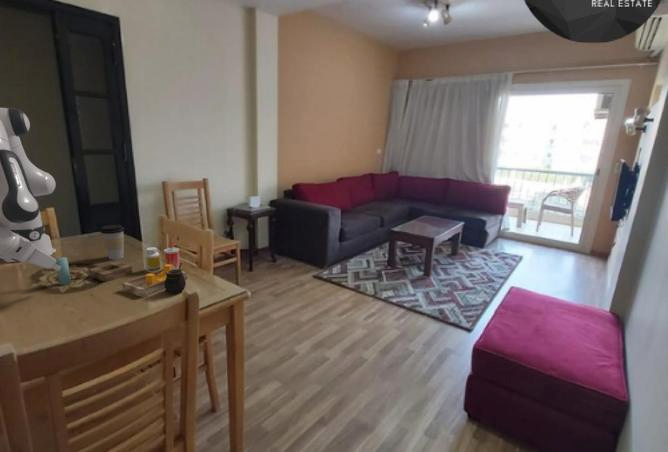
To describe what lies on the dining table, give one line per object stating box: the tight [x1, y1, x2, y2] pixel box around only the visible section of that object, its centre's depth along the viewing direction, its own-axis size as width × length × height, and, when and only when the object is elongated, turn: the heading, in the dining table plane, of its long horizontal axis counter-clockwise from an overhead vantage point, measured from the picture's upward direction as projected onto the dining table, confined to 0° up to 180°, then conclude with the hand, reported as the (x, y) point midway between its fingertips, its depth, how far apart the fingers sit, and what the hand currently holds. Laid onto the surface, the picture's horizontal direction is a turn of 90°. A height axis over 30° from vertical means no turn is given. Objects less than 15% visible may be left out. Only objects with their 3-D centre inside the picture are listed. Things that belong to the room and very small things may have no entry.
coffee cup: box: [100, 224, 125, 261], centre depth 161 cm, size 9×9×15 cm
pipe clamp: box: [144, 263, 173, 287], centre depth 135 cm, size 12×4×6 cm, turn 168°
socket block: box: [88, 261, 133, 283], centre depth 143 cm, size 11×11×3 cm
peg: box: [54, 256, 72, 286], centre depth 133 cm, size 4×4×10 cm
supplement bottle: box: [144, 247, 161, 273], centre depth 148 cm, size 5×5×10 cm
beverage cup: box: [163, 238, 180, 269], centre depth 149 cm, size 6×6×14 cm
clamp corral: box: [121, 267, 188, 298], centre depth 135 cm, size 11×19×3 cm, turn 153°
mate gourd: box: [164, 262, 187, 295], centre depth 130 cm, size 7×8×10 cm
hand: (52, 266), depth 128 cm, fingers open, 8 cm apart
